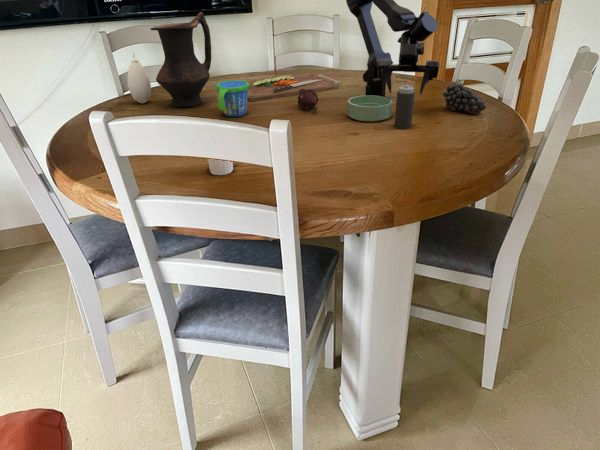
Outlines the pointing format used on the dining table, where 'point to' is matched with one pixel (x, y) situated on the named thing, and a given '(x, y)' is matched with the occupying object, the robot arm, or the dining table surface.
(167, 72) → the jug
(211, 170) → the shot glass
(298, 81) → the chopping board
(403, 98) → the pepper mill
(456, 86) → the fruit
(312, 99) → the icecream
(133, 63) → the teardrop candle
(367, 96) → the bowl
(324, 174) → the dining table surface
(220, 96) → the snack cup
